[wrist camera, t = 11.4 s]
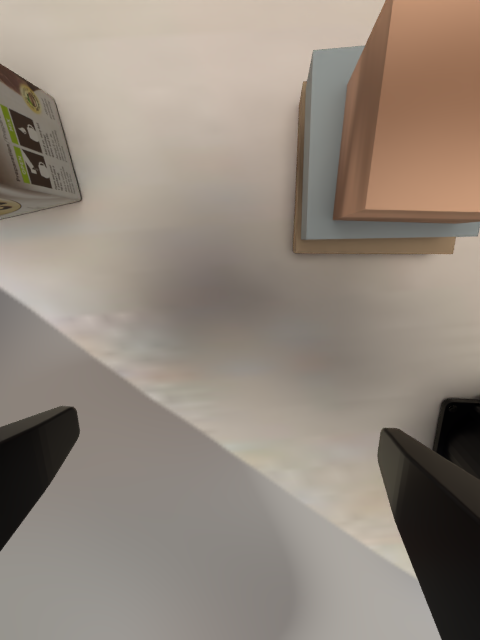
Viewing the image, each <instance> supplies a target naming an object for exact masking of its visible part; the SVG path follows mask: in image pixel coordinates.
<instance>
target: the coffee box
mask: <svg viewBox="0 0 480 640" xmlns="http://www.w3.org/2000/svg"><path fill="white" fill-rule="evenodd" d="M80 199H81V197H80V192H79V189H78V185H77V181H76V178H75V174H74V170H73V167H72V163H71V159H70V156H69V152H68V148H67V145H66V141H65V137H64V134H63V130H62V126H61V123H60V119H59V115H58V112H57V108H56V105H55V102H54V99H53V98H52V97H51V96H50V95H49V94H47V93H46V92H44V91H43V90H41V89H39V88H38V87H36V86H35V85H33V84H31V83H30V82H28V81H27V80H25V79H24V78H22V77H20V76H19V75H17V74H16V73H14V72H12V71H11V70H9V69H8V68H6V67H5V66H3V65H1V64H0V219H3V218H8V217H12V216H16V215H21V214H25V213H29V212H34V211H38V210H42V209H47V208H51V207H55V206H60V205H64V204H68V203H73V202H77V201H80Z"/></svg>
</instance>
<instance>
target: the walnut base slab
mask: <svg viewBox="0 0 480 640" xmlns="http://www.w3.org/2000/svg"><path fill="white" fill-rule="evenodd" d="M306 84H307V81H305V82H303V86H302V92H301V97H300V103H299V122H298V145H297V168H296V191H295V214H294V238H293V252H294V253H323V254H453V250H454V245H455V239H456V237H416V238H364V239H311V240H303V239H301V223H302V192H303V160H304V129H305V98H306Z"/></svg>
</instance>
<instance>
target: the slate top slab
mask: <svg viewBox="0 0 480 640" xmlns="http://www.w3.org/2000/svg"><path fill="white" fill-rule="evenodd" d="M364 47H365V46H355V47H344V48H333V49H322V50H313V54H312V59H311V64H310V69H309V74H308V79H307V84H306V98H305V129H304V160H303V192H302V223H301V239H303V240H311V239H364V238H416V237H469V236H478V233H479V228H480V222H469V223H458V224H452V223H416V222H380V221H344V220H333V211H334V202H335V193H336V184H337V175H338V165H339V156H340V147H341V138H342V129H343V119H344V110H345V101H346V92H347V84H348V82H349V80H350V78H351V75H352V73H353V71H354V69H355V67H356V64H357V62H358V60H359V58H360V56H361V54H362V51H363V49H364Z"/></svg>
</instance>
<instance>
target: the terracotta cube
mask: <svg viewBox="0 0 480 640" xmlns="http://www.w3.org/2000/svg"><path fill="white" fill-rule="evenodd" d="M333 220H344V221H380V222H416V223H452V224H458V223H469V222H480V0H386V1H385V3H384V5H383V8H382V10H381V12H380V14H379V16H378V19H377V21H376V23H375V25H374V27H373V30H372V32H371V34H370V36H369V38H368V40H367V43H366V45H365V47H364V49H363V51H362V54H361V56H360V58H359V60H358V62H357V64H356V67H355V69H354V71H353V73H352V75H351V78H350V80H349V82H348V84H347V92H346V101H345V110H344V119H343V129H342V138H341V147H340V156H339V165H338V175H337V184H336V193H335V202H334V211H333Z"/></svg>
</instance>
